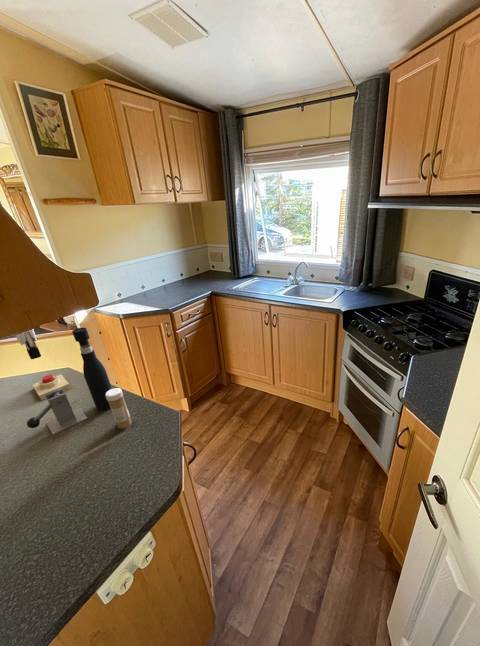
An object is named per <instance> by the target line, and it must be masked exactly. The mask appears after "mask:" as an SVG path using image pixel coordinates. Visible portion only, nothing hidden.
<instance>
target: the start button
mask: <svg viewBox="0 0 480 646" xmlns="http://www.w3.org/2000/svg"><path fill="white" fill-rule="evenodd" d="M53 376H54V375H53V374H47V375H45V376H43V377H42V378H41V380H43V383H49V382H52V381H53V380H54V377H53Z"/></svg>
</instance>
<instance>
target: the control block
mask: <svg viewBox="0 0 480 646" xmlns="http://www.w3.org/2000/svg"><path fill="white" fill-rule="evenodd" d="M53 377H54V380H53V381H52V382H49V383H43V380H42V379H40V381H38V382H35V383H32V384H31V385H32V387H33V389H34V391H35V392H36V394H37V396H38V397H39V399H40V401H43V400H45V399H47V398H46V396H45V394H47V393H50V392H52V391H55V390H58V389H60V388H61V389H62V391H63V392H65V391H68V390H70V389H71V385H70V383H69V382H68V381H67V380H66V378H65V377H64V376H63V375H62V374H61V373H59V374H57V375H53Z"/></svg>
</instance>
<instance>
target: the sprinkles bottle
mask: <svg viewBox="0 0 480 646" xmlns="http://www.w3.org/2000/svg"><path fill="white" fill-rule="evenodd" d="M105 396H106V399H107V400H108V402H109V405H110V409H109V410H110V411H111V414H112V416H113V419H114V422H115V424H116V427H117V428H118V429H126V428H128V427H130V426H131V425H132V422H133V421H132V418H131V414H130V413H129V412H130V411H129V408H128V406H127V403H126V401H125V397H124V392H123V390H122V389H121V388H120V387H114V388H112V389H111V390H109V391H107V392H106V394H105Z"/></svg>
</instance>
